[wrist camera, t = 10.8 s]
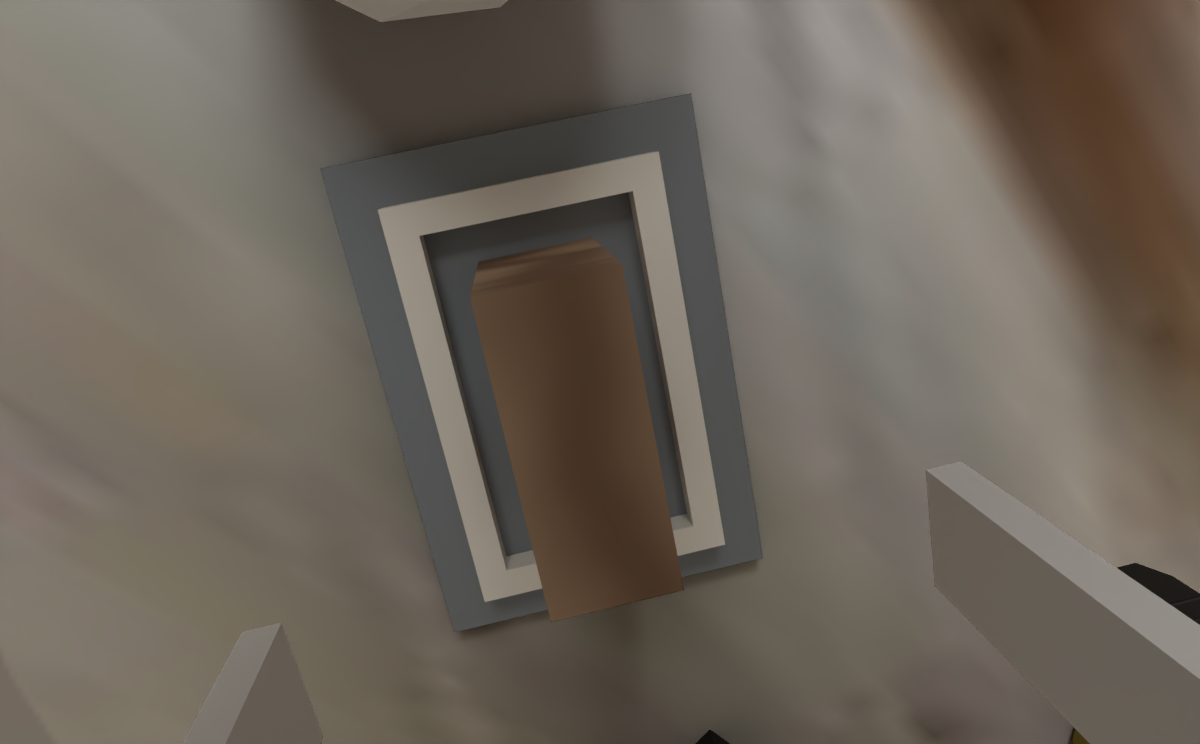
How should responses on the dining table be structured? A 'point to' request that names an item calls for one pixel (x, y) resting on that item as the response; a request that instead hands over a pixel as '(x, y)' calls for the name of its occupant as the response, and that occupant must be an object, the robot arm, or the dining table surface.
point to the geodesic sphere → (416, 7)
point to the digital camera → (711, 739)
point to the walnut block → (577, 425)
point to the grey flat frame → (454, 351)
